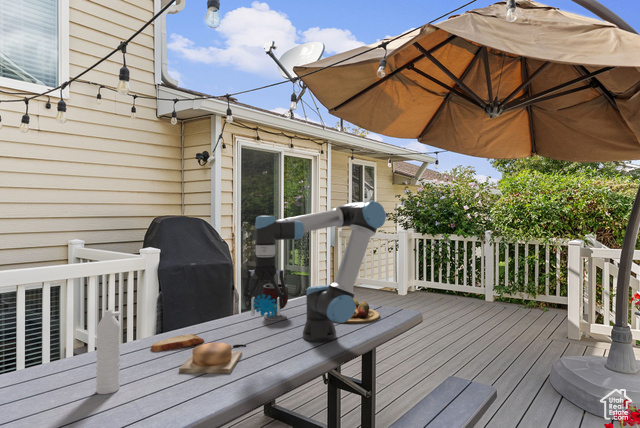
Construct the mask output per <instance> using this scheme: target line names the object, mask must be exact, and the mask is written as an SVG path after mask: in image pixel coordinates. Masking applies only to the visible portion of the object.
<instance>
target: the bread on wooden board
mask: <svg viewBox="0 0 640 428" xmlns="http://www.w3.org/2000/svg"><path fill="white" fill-rule="evenodd" d="M232 348H233V347H232V345H231V344H229V343H226V342H208V343H207V342H206V343H201V344H198V345H195V347H194V348H192V355H190V357H189V358H187V360H186V361H184V363H182V365H180V366H179V368H178V373H180V374H181V373H182V374H183V373H185V374H210V373H211V374H231V373H232V371H233V370H234V368H235V367H236V365H237V364H238V362H239V360H240V359H241V357H242V355H243V351H241V350H240V351H239V350H238V351H236V350H234V351H233V350H232Z"/></svg>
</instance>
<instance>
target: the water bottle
mask: <svg viewBox="0 0 640 428" xmlns="http://www.w3.org/2000/svg"><path fill="white" fill-rule="evenodd" d="M103 311H104V313H103V317H102V318H100V321H99V322H98V324H97V326H96V355H95V356H96V361H95V362H96V379H95V381H96V384H95V385H96V386H95V388H96V390H95V391H96V393H97V394H98V395H109V394H113V393H115V392H117V391H119V390H120V387H121V383H120V382H121V381H120V380H121V379H120V377H121V374H120V371H121V370H120V369H121V368H120V365H121V363H120V361H121V358H120V357H121V356H120V354H121V351H120V350H121V348H120V345H121V343H120V341H121V340H120V339H121V336H120V335H121V333H120V331H121V324H120V322H119V321H118V319H117V318H116V317H117V316H118V317H119V316H120V315H121V311H113V310H112V309H107V310H103Z"/></svg>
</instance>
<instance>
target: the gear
mask: <svg viewBox="0 0 640 428" xmlns="http://www.w3.org/2000/svg"><path fill="white" fill-rule="evenodd" d="M265 296H266V295H265V294H262V293H261V295H259V294H258V295H257V296H256V298H255V300H254V302H255V303H254V307H255V308H256V309H255V312H256V313H260V316H262V317H264V316H265V315H266V317H270V314H271V315H272V316H274V315H275V312H277V304H274V303H275V301H276V300H275V299H273V300H268V299H270V298H271V296H270V295H268V297H267V298H266V299H265V298H264V297H265ZM272 302H273V303H272ZM274 311H275V312H274ZM266 313H267V314H266Z"/></svg>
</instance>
